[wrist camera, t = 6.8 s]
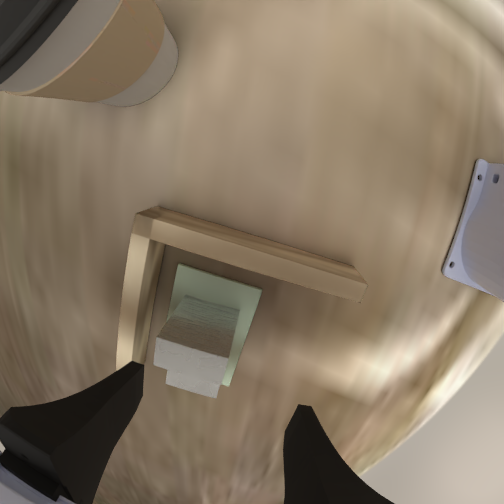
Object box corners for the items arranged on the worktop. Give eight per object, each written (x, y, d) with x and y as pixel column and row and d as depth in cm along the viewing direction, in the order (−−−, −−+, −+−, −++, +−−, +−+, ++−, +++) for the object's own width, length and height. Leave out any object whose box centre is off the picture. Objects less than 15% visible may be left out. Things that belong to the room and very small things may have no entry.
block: (185, 294, 21) (156, 337, 15) (240, 309, 21) (228, 358, 15) (172, 368, 23) (149, 418, 17) (219, 382, 23) (206, 436, 17)
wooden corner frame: (157, 206, 20) (135, 213, 16) (353, 266, 20) (368, 284, 17) (132, 356, 23) (115, 380, 20) (289, 404, 23) (291, 433, 20)
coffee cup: (98, 21, 16) (-26, -55, 2) (204, 11, 16) (124, -137, 1) (73, 123, 18) (-95, 109, 4) (180, 124, 18) (4, 54, 4)
